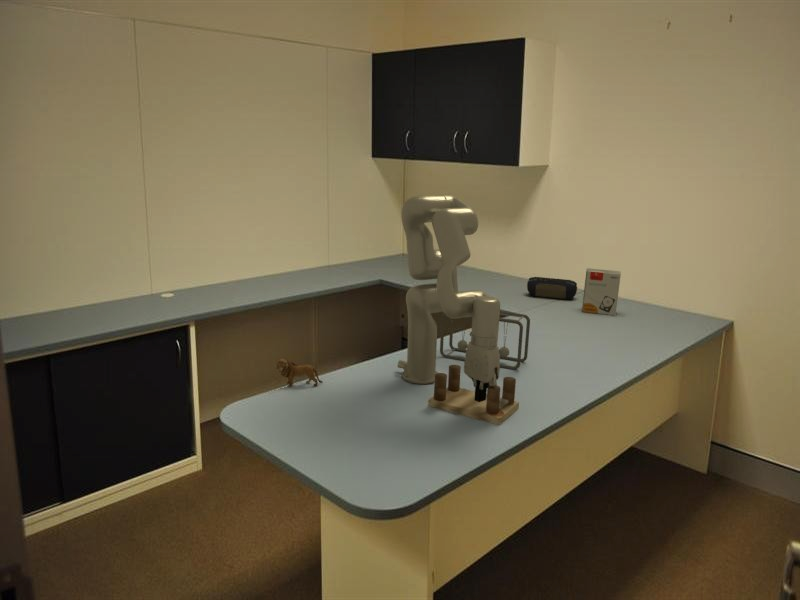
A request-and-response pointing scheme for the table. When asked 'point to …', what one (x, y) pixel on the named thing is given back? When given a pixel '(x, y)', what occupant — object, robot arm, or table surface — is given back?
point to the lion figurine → (296, 371)
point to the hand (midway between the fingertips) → (480, 400)
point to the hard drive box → (601, 291)
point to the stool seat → (464, 399)
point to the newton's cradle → (502, 351)
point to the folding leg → (494, 395)
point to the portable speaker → (552, 287)
